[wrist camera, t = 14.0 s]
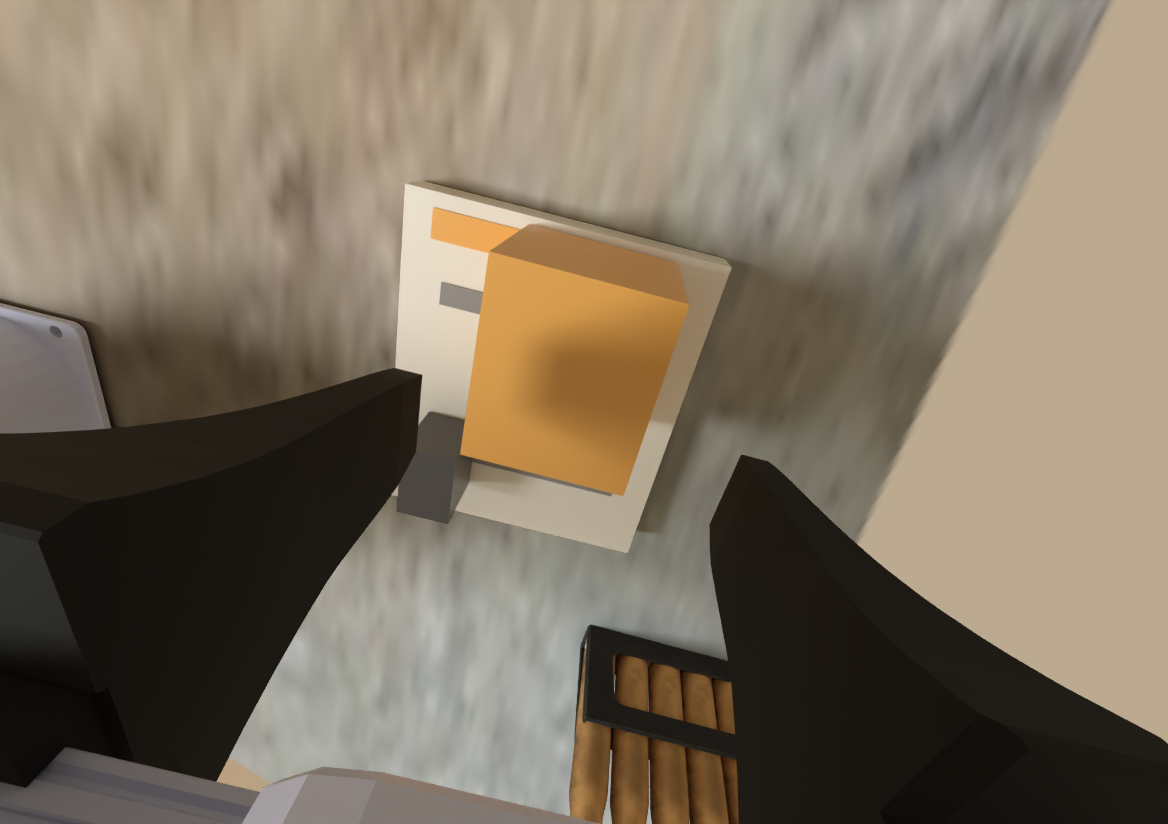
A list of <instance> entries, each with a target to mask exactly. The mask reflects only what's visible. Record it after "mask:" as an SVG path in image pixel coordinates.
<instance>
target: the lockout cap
mask: <svg viewBox="0 0 1168 824" xmlns="http://www.w3.org/2000/svg"><path fill="white" fill-rule="evenodd" d="M689 305H690V304H689V301H688V297H687V294H686V291H685V288H684V284H683V281H682V278H681V274H680V271H679V268H678V265H677V263H675V262H671V261H668V260H664V259H660V258H656V257H653V256H649V255H645V254H641V253H638V252H634V251H630V250H626V249H623V248H619V247H615V246H611V245H608V244H604V243H600V242H596V241H593V240H589V239H585V238H581V237H578V236H574V235H570V234H566V233H563V232H559V231H555V230H551V229H548V228H544V227H540V226H536V225H533V224H528V225H527V226H525V227H524V228H523V229H521V230H520V231H518V232H517V233H515V234H514V235H512V236H511V237H509V238H508V239H506V240H505V241H503V242H502V243H500V244H499V245H498V246H496V247H495V248H493V249H492V250H490V251H489V254H488V261H487V268H486V275H485V282H484V289H483V296H482V303H481V310H480V317H479V324H478V332H477V339H476V346H475V353H474V360H473V367H472V374H471V381H470V388H469V395H468V402H467V409H466V416H465V423H464V430H463V437H462V444H461V451H460V455H464V456H468V457H472V458H476V459H480V460H484V461H488V462H491V463H495V464H499V465H503V466H507V467H511V468H515V469H519V470H523V471H527V472H530V473H534V474H538V475H542V476H546V477H550V478H554V479H558V480H562V481H566V482H570V483H573V484H577V485H581V486H585V487H589V488H593V489H597V490H601V491H605V492H609V493H613V494H616V495H620V496H624V493H625V490H626V487H627V485H628V482H629V479H630V476H631V473H632V470H633V467H634V464H635V461H636V458H637V456H638V453H639V450H640V447H641V444H642V441H643V438H644V435H645V432H646V430H647V427H648V424H649V421H650V418H651V415H652V412H653V409H654V406H655V403H656V401H657V398H658V395H659V392H660V389H661V386H662V383H663V380H664V377H665V374H666V372H667V369H668V366H669V363H670V360H671V357H672V354H673V351H674V348H675V346H676V343H677V340H678V337H679V334H680V331H681V328H682V325H683V322H684V319H685V317H686V314H687V311H688V308H689Z"/></svg>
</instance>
